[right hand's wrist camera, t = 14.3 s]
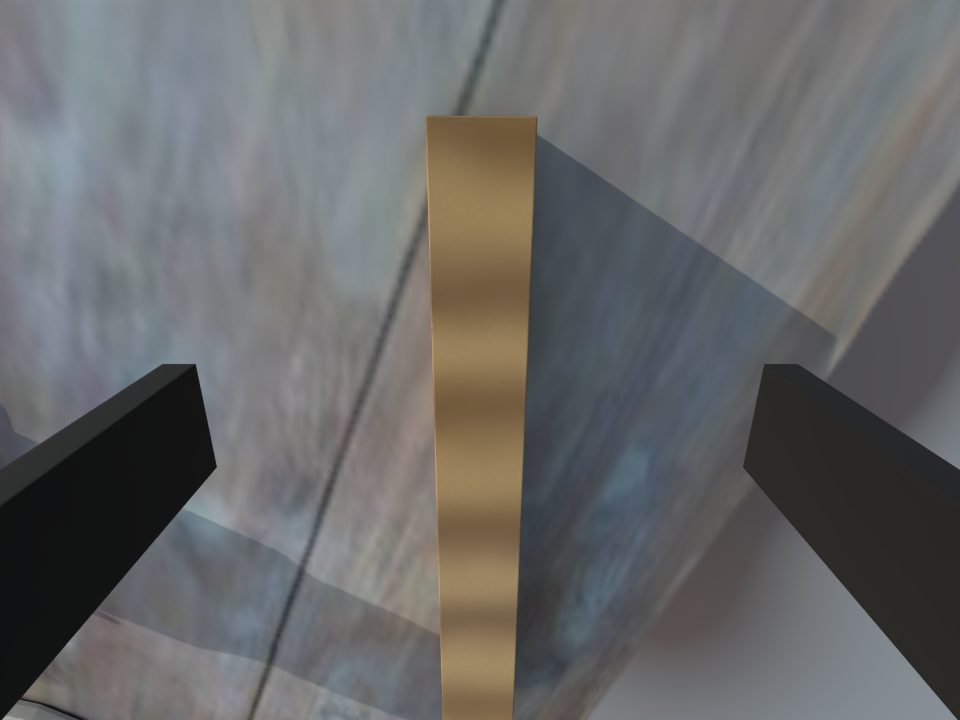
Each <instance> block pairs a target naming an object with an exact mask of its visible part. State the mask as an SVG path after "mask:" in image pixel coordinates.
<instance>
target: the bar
mask: <svg viewBox="0 0 960 720" xmlns="http://www.w3.org/2000/svg"><path fill="white" fill-rule="evenodd" d="M536 136H537V117H536V116H426V150H427V185H428V220H429V255H430V290H431V325H432V360H433V395H434V430H435V465H436V500H437V535H438V570H439V605H440V641H441V676H442V711H443V720H513V708H514V683H515V658H516V633H517V609H518V584H519V559H520V534H521V509H522V484H523V459H524V434H525V410H526V385H527V360H528V335H529V310H530V285H531V260H532V235H533V211H534V186H535V161H536Z"/></svg>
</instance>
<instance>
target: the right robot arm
mask: <svg viewBox="0 0 960 720" xmlns="http://www.w3.org/2000/svg"><path fill="white" fill-rule="evenodd" d="M216 468H217V465H216V461H215V456H214V451H213V446H212V441H211V436H210V431H209V427H208V422H207V417H206V412H205V407H204V402H203V397H202V393H201V388H200V383H199V378H198V373H197V368H196V364H162V365H160V366H159V367H157V368H156V369H154V370H153V371H151V372H150V373H148V374H147V375H145V376H144V377H142V378H140V379H139V380H137V381H136V382H134V383H133V384H131V385H130V386H128V387H127V388H125V389H124V390H122V391H121V392H119V393H117V394H116V395H114V396H113V397H111V398H110V399H108V400H107V401H105V402H104V403H102V404H101V405H99V406H98V407H96V408H94V409H93V410H91V411H90V412H88V413H87V414H85V415H84V416H82V417H81V418H79V419H78V420H76V421H75V422H73V423H71V424H70V425H68V426H67V427H65V428H64V429H62V430H61V431H59V432H58V433H56V434H55V435H53V436H52V437H50V438H48V439H47V440H45V441H44V442H42V443H41V444H39V445H38V446H36V447H35V448H33V449H32V450H30V451H29V452H27V453H25V454H24V455H22V456H21V457H19V458H18V459H16V460H15V461H13V462H12V463H10V464H9V465H7V466H5V467H4V468H2V469H1V470H0V720H3V718H4V717H5V716H6V715H7V714H8V712H9V711H10V710H11V709H12V708H13V707H14V705H15V704H16V703H17V702H18V701H19V700H20V698H21V697H22V696H23V695H24V694H25V692H26V691H27V690H28V689H29V688H30V687H31V685H32V684H33V683H34V682H35V681H36V680H37V678H38V677H39V676H40V675H41V674H42V672H43V671H44V670H45V669H46V668H47V667H48V665H49V664H50V663H51V662H52V661H53V659H54V658H55V657H56V656H57V655H58V654H59V652H60V651H61V650H62V649H63V648H64V647H65V645H66V644H67V643H68V642H69V641H70V639H71V638H72V637H73V636H74V635H75V634H76V632H77V631H78V630H79V629H80V628H81V627H82V625H83V624H84V623H85V622H86V621H87V619H88V618H89V617H90V616H91V615H92V614H93V612H94V611H95V610H96V609H97V608H98V606H99V605H100V604H101V603H102V602H103V601H104V599H105V598H106V597H107V596H108V595H109V594H110V592H111V591H112V590H113V589H114V588H115V586H116V585H117V584H118V583H119V582H120V581H121V579H122V578H123V577H124V576H125V575H126V574H127V572H128V571H129V570H130V569H131V568H132V566H133V565H134V564H135V563H136V562H137V561H138V559H139V558H140V557H141V556H142V555H143V553H144V552H145V551H146V550H147V549H148V548H149V546H150V545H151V544H152V543H153V542H154V541H155V539H156V538H157V537H158V536H159V535H160V533H161V532H162V531H163V530H164V529H165V528H166V526H167V525H168V524H169V523H170V522H171V521H172V519H173V518H174V517H175V516H176V515H177V513H178V512H179V511H180V510H181V509H182V508H183V506H184V505H185V504H186V503H187V502H188V500H189V499H190V498H191V497H192V496H193V495H194V493H195V492H196V491H197V490H198V489H199V488H200V486H201V485H202V484H203V483H204V482H205V480H206V479H207V478H208V477H209V476H210V475H211V473H212V472H213V471H214V470H215V469H216ZM743 468H744V469H745V470H746V471H747V472H748V473H749V475H750V476H751V477H752V478H753V479H754V480H755V482H756V483H757V484H758V485H759V486H760V488H761V489H762V490H763V491H764V492H765V493H766V495H767V496H768V497H769V498H770V499H771V500H772V502H773V503H774V504H775V505H776V506H777V508H778V509H779V510H780V511H781V512H782V513H783V515H784V516H785V517H786V518H787V519H788V521H789V522H790V523H791V524H792V525H793V526H794V528H795V529H796V530H797V531H798V532H799V533H800V535H801V536H802V537H803V538H804V539H805V541H806V542H807V543H808V544H809V545H810V546H811V548H812V549H813V550H814V551H815V552H816V553H817V555H818V556H819V557H820V558H821V559H822V561H823V562H824V563H825V564H826V565H827V566H828V568H829V569H830V570H831V571H832V572H833V573H834V575H835V576H836V577H837V578H838V579H839V580H840V582H841V583H842V584H843V585H844V586H845V588H846V589H847V590H848V591H849V592H850V594H851V595H852V596H853V597H854V598H855V599H856V601H857V602H858V603H859V604H860V605H861V606H862V608H863V609H864V610H865V611H866V612H867V614H868V615H869V616H870V617H871V618H872V619H873V621H874V622H875V623H876V624H877V625H878V627H879V628H880V629H881V630H882V631H883V632H884V633H885V635H886V636H887V637H888V638H889V639H890V640H891V642H892V643H893V644H894V645H895V646H896V648H897V649H898V650H899V651H900V652H901V654H902V655H903V656H904V657H905V658H906V659H907V661H908V662H909V663H910V664H911V665H912V667H913V668H914V669H915V670H916V671H917V672H918V674H919V675H920V676H921V677H922V678H923V680H924V681H925V682H926V683H927V684H928V685H929V687H930V688H931V689H932V690H933V691H934V692H935V694H936V695H937V696H938V697H939V698H940V699H941V701H942V702H943V703H944V704H945V705H946V707H947V708H948V709H949V710H950V711H951V712H952V714H953V715H954V716H955V717H956V718H957V720H960V470H959V469H958V468H956V467H954V466H953V465H951V464H950V463H948V462H947V461H945V460H944V459H942V458H941V457H939V456H937V455H936V454H935V453H933V452H931V451H930V450H928V449H927V448H925V447H924V446H922V445H921V444H919V443H918V442H916V441H915V440H913V439H912V438H910V437H908V436H907V435H905V434H904V433H902V432H901V431H899V430H898V429H896V428H895V427H893V426H892V425H890V424H889V423H887V422H885V421H884V420H882V419H881V418H879V417H878V416H876V415H875V414H873V413H872V412H870V411H869V410H867V409H866V408H864V407H862V406H861V405H859V404H858V403H856V402H855V401H853V400H852V399H850V398H849V397H847V396H846V395H844V394H843V393H841V392H839V391H838V390H836V389H835V388H833V387H832V386H830V385H829V384H827V383H826V382H824V381H823V380H821V379H820V378H818V377H816V376H815V375H813V374H812V373H810V372H809V371H807V370H806V369H804V368H803V367H801V366H800V365H798V364H764V368H763V373H762V378H761V383H760V388H759V393H758V397H757V402H756V407H755V412H754V417H753V422H752V427H751V431H750V436H749V441H748V446H747V451H746V456H745V461H744V465H743Z"/></svg>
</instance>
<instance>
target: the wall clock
mask: <svg viewBox="0 0 960 720" xmlns="http://www.w3.org/2000/svg"><path fill="white" fill-rule="evenodd" d="M3 720H78V719H76V718H73V717H71V716H68V715H66V714H63V713H61V712H58V711H56V710H53V709H51V708H49V707H46V706H44V705H41V704H37V703H32V702H28V701H24V700H19V701H18V702H17V703H16V704H15V705H14V707H13V708H12V709H11V710H10V711H9V712H8V714H7V715H6V716H5V717H4V718H3Z"/></svg>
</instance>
